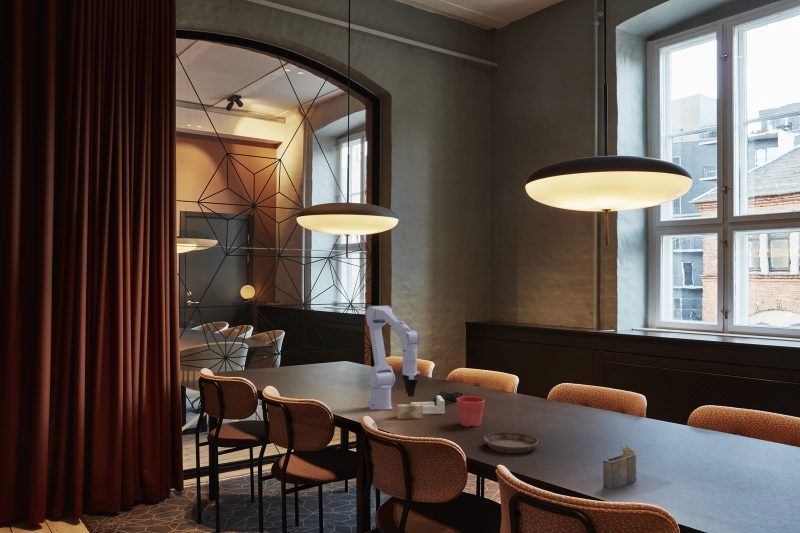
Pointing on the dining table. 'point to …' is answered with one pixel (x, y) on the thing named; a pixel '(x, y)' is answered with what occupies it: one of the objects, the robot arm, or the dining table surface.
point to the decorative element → (448, 396)
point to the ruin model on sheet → (619, 469)
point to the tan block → (409, 411)
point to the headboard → (433, 406)
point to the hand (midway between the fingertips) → (409, 394)
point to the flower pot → (470, 410)
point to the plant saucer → (510, 442)
